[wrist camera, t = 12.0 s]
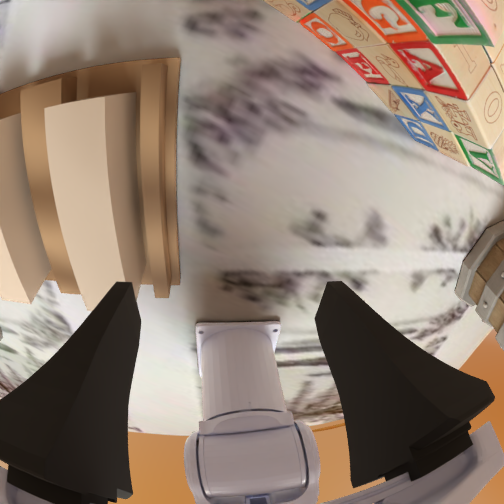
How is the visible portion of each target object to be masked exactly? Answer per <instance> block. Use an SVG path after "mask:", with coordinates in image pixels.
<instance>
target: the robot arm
mask: <svg viewBox="0 0 504 504" xmlns="http://www.w3.org/2000/svg"><path fill="white" fill-rule="evenodd" d="M315 322H316V327H317V332H318V336H319V340H320V343H321V346H322V349H323V351H324V354H325V357H326V359H327V362H328V365H329V367H330V370H331V373H332V376H333V378H334V381H335V384H336V387H337V390H338V393H339V396H340V401H341V405H342V410H343V414H344V420H345V425H346V431H347V438H348V446H349V455H350V471H351V482H352V486H353V488H355V487H358V486H361V485H364V484H367V483H370V482H372V481H375V480H378V479H380V478H382V477H385V480H386V482H384V483H381V484H379V485H376V486H374V487H371V488H368V489H366V490H363V491H360V492H357V493H354V494H351V495H348V496H345V497H342V498H339V499H335V500H331V501H328V502H324V503H320V504H372V503H374V504H469V503H470V502H471V501H472V500H473V499H474V498H475V497H476V495H477V494H478V493H479V492H480V491H481V490H482V489H483V487H484V486H485V485H486V484H487V483H488V482H489V481H490V480H491V479H492V478H493V477H494V476H495V475H496V473H497V472H498V471H499V470H500V469H501V468H502V467H503V466H504V453H503V451H502V448H501V446H500V443H499V441H498V438H497V436H496V434H495V431H494V429H493V427H492V425H491V423H490V422H487V423H486V424H484V425H483V426H482V427H480V428H479V429H477V430H476V431H475V432H473V433H472V434H470V435H469V434H468V430H470V429H471V425H470V423H469V421H470V420H471V419H473V418H474V417H476V416H477V415H478V414H479V413H480V412H482V411H483V410H484V409H485V408H487V407H488V406H489V405H490V404H491V403H492V402H493V401H494V399H495V396H494V394H493V393H492V391H491V389H490V387H489V385H488V383H487V382H486V381H484V380H481V379H479V378H476V377H473V376H470V375H468V374H466V373H463V372H461V371H459V370H457V369H455V368H453V367H451V366H449V365H447V364H446V363H444V362H442V361H440V360H439V359H437V358H435V357H434V356H432V355H430V354H429V353H427V352H426V351H424V350H423V349H421V348H420V347H418V346H417V345H416V344H414V343H413V342H411V341H410V340H409V339H407V338H406V337H405V336H403V335H402V334H401V333H400V332H398V331H397V330H396V329H395V328H394V327H392V326H391V325H390V324H389V323H388V322H387V321H385V320H384V319H383V318H382V317H381V316H380V315H379V314H378V313H376V312H375V311H374V310H373V309H372V308H371V307H370V306H369V305H368V304H367V303H365V302H364V301H363V300H362V299H361V298H360V297H359V296H358V295H357V294H356V293H355V292H354V291H352V290H351V289H350V288H349V287H348V286H347V285H346V284H344V283H343V282H342V281H332V282H327V285H326V288H325V291H324V293H323V296H322V299H321V302H320V305H319V308H318V311H317V313H316V316H315ZM140 329H141V318H140V314H139V310H138V306H137V302H136V298H135V293H134V289H133V284H132V282H116V283H115V284H114V285H113V286H112V287H111V288H110V290H109V291H108V292H107V293H106V295H105V296H104V297H103V298H102V300H101V301H100V302H99V303H98V305H97V306H96V307H95V308H94V310H93V311H92V312H91V313H90V315H89V316H88V317H87V318H86V319H85V321H84V322H83V323H82V324H81V326H80V327H79V328H78V329H77V330H76V331H75V333H74V334H73V335H72V336H71V337H70V338H69V339H68V341H67V342H66V343H65V344H64V345H63V346H62V347H61V348H60V349H59V350H58V351H57V353H56V354H55V355H54V356H53V357H52V358H51V359H50V360H49V361H48V362H46V363H45V364H44V365H43V366H42V367H41V368H40V369H39V370H37V371H36V372H35V373H34V374H33V375H32V376H31V377H30V378H29V379H27V380H26V381H25V382H24V383H22V384H21V385H20V386H19V387H17V388H16V389H15V390H13V391H12V392H11V393H9V394H8V395H6V396H5V397H4V398H2V399H0V460H1V461H3V462H5V463H7V464H8V465H9V466H8V470H6V469H5V468H3V467H1V466H0V504H108V501H110V502H115V503H116V502H117V497H118V498H123V499H127V498H129V497H130V496H131V495H133V490H132V485H131V477H130V469H129V456H128V404H129V395H130V389H131V383H132V378H133V373H134V368H135V362H136V357H137V352H138V347H139V339H140ZM280 330H281V323H280V322H279V321H266V322H231V323H197V324H196V326H195V331H196V343H197V355H198V366H199V375H200V377H202V403H203V421H200V422H199V431H196V432H192V433H191V435H190V436H189V437H188V438H187V440H186V443H185V448H184V465H185V473H186V478H187V482H188V485H189V488H190V490H191V491H192V492H193V495H194V498H195V502H196V504H316V503H317V501H318V498H317V496H318V495H319V476H320V458H319V452H318V447H317V444H316V440H315V437H314V435H313V432H312V430H311V429H310V427H309V426H308V425H306V424H305V423H304V422H302V421H301V420H297V421H294V419H293V415H292V412H287V409H286V404H285V400H284V396H283V391H282V387H281V382H280V378H279V373H278V369H277V364H276V360H275V355H274V352H275V348H276V344H277V341H278V337H279V333H280Z"/></svg>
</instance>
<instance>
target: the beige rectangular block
mask: <svg viewBox="0 0 504 504" xmlns="http://www.w3.org/2000/svg"><path fill="white" fill-rule="evenodd" d="M51 269H52V268H51V265H50V262H49V259H48V256H47V253H46V250H45V247H44V244H43V240H42V237H41V233H40V230H39V226H38V222H37V218H36V214H35V210H34V206H33V202H32V197H31V192H30V187H29V182H28V176H27V170H26V163H25V156H24V147H23V138H22V125H21V113H18V114H15V115H12V116H9V117H6V118H3V119H0V296H1V298H2V300H6V301H13V302H20V303H27V304H31V303H32V301H33V299H34V297H35V296H36V294H37V292H38V290H39V289H40V287H41V285H42V283H43V282H44V280H45V278H46V277H47V275H48V274H49V272H50V270H51Z"/></svg>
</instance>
